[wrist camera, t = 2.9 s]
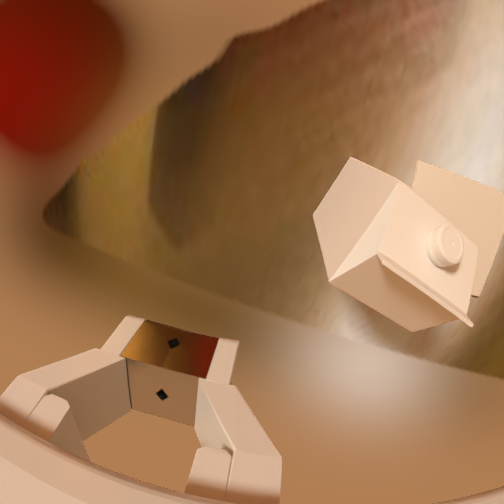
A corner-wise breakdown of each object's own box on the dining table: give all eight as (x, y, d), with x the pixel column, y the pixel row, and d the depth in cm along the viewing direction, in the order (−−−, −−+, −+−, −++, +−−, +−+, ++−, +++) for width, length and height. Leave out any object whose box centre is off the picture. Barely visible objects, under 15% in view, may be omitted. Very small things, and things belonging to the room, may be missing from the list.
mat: (512, 196, 28) (513, 197, 28) (477, 295, 33) (478, 296, 33) (417, 160, 29) (419, 160, 28) (384, 276, 34) (385, 277, 33)
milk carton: (366, 250, 33) (430, 372, 15) (311, 214, 32) (336, 321, 15) (405, 195, 30) (513, 274, 13) (350, 155, 30) (429, 195, 12)
